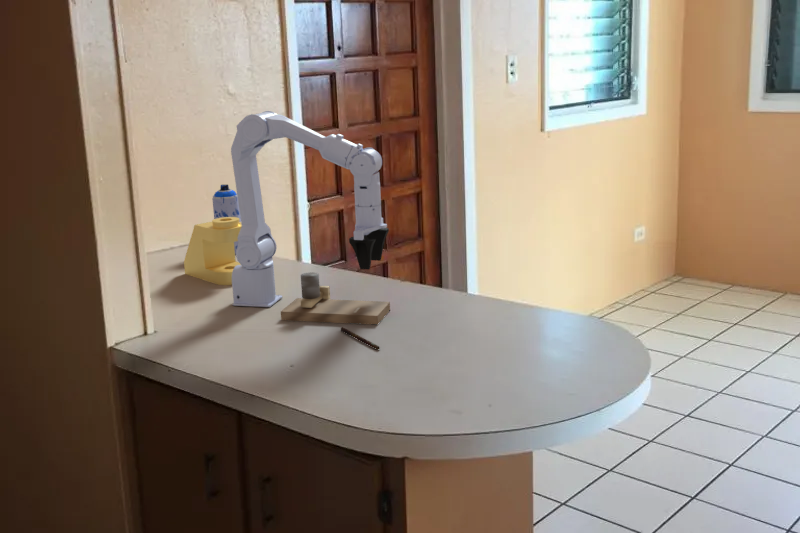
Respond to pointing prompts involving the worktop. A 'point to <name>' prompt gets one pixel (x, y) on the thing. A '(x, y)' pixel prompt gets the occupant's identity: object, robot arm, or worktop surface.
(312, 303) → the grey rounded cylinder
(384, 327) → the worktop surface
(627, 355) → the worktop surface
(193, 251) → the yellow bracket
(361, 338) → the dark notched rod
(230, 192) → the aerosol can
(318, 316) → the board
